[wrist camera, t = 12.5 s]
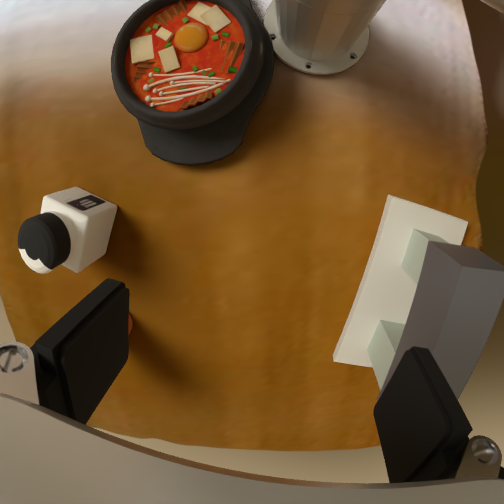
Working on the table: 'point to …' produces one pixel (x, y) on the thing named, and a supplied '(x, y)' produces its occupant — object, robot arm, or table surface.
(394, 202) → the stand
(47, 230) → the container
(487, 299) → the bar
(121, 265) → the table surface
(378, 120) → the table surface
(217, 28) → the casserole
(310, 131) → the table surface
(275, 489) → the robot arm
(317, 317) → the table surface
